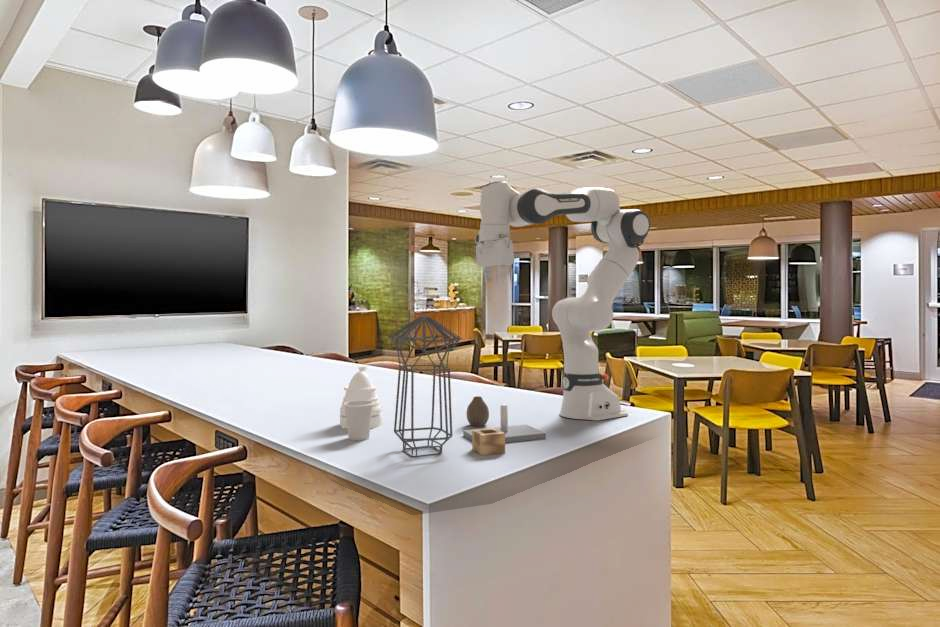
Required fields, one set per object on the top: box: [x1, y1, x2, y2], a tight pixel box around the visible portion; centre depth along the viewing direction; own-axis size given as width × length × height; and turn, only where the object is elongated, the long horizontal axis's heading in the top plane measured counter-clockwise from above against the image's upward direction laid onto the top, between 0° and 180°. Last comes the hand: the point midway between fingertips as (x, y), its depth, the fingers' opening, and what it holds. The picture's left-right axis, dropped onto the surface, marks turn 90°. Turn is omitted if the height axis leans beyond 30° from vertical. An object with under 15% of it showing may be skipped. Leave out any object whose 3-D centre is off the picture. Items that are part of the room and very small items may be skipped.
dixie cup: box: [343, 400, 374, 441], centre depth 167 cm, size 8×8×10 cm
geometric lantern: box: [388, 315, 463, 458], centre depth 152 cm, size 16×16×35 cm
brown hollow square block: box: [471, 427, 506, 456], centre depth 152 cm, size 6×6×5 cm
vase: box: [466, 395, 490, 428], centre depth 183 cm, size 7×7×9 cm
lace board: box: [462, 404, 547, 444], centre depth 167 cm, size 20×12×9 cm, turn 112°
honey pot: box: [339, 365, 383, 430], centre depth 184 cm, size 13×13×18 cm
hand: (494, 281), depth 179 cm, fingers open, 8 cm apart
